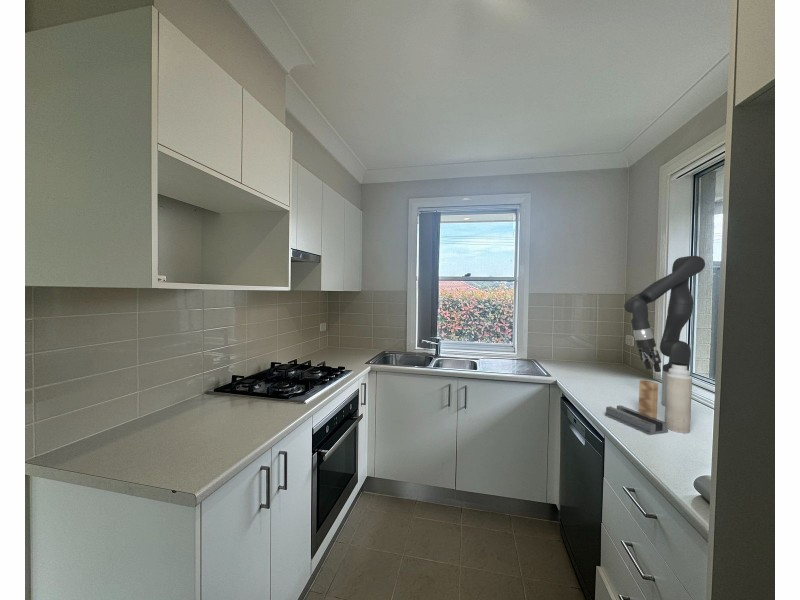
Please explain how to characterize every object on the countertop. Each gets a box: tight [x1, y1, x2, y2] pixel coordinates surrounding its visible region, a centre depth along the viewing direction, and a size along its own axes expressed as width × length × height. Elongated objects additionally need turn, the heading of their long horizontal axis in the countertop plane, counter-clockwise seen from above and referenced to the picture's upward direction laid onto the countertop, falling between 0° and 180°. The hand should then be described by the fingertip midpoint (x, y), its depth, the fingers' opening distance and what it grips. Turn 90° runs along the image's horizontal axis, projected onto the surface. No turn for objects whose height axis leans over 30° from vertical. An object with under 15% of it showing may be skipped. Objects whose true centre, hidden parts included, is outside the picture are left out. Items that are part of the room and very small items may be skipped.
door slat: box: [638, 379, 659, 419], centre depth 143 cm, size 6×3×16 cm, turn 15°
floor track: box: [604, 404, 669, 436], centre depth 135 cm, size 20×10×4 cm, turn 15°
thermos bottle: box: [664, 361, 693, 434], centre depth 130 cm, size 8×8×28 cm
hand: (653, 370), depth 154 cm, fingers open, 8 cm apart
